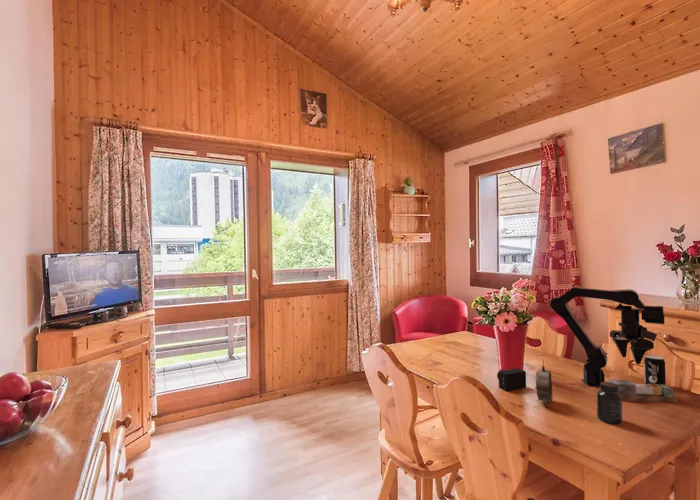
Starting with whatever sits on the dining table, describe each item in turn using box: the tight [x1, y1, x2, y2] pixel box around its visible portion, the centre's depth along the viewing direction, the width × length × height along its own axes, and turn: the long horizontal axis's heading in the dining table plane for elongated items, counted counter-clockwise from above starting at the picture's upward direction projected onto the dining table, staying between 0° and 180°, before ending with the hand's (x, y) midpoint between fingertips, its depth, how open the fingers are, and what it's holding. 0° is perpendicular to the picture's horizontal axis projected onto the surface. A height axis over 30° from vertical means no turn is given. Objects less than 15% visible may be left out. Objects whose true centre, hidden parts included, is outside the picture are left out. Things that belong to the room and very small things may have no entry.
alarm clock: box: [535, 358, 553, 409], centre depth 132 cm, size 11×5×16 cm, turn 148°
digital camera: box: [496, 367, 527, 392], centre depth 148 cm, size 10×5×7 cm, turn 109°
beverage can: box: [643, 354, 667, 386], centre depth 146 cm, size 7×7×12 cm
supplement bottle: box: [596, 381, 623, 426], centre depth 118 cm, size 7×7×12 cm
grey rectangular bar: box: [634, 383, 671, 395], centre depth 134 cm, size 13×3×3 cm, turn 81°
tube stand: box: [608, 379, 678, 404], centre depth 134 cm, size 20×6×6 cm, turn 81°
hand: (630, 360), depth 142 cm, fingers open, 9 cm apart
